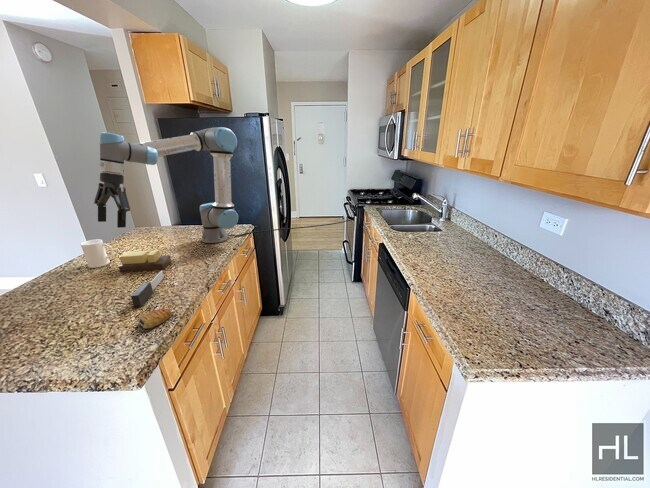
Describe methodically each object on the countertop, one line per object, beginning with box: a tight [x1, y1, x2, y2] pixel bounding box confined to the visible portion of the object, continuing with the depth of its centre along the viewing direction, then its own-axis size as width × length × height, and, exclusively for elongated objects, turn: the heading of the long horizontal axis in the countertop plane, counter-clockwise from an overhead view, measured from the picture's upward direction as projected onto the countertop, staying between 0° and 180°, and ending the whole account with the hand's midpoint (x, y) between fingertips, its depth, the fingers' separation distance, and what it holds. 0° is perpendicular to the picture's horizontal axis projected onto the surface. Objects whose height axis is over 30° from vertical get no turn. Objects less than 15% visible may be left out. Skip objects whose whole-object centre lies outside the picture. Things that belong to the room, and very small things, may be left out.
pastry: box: [138, 308, 173, 330], centre depth 88 cm, size 9×7×4 cm
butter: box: [119, 250, 150, 264], centre depth 126 cm, size 10×6×4 cm, turn 99°
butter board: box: [117, 254, 172, 273], centre depth 128 cm, size 19×10×3 cm, turn 99°
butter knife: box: [130, 270, 165, 308], centre depth 106 cm, size 2×23×5 cm, turn 9°
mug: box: [80, 238, 114, 269], centre depth 128 cm, size 12×8×12 cm
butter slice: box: [147, 249, 161, 263], centre depth 127 cm, size 3×6×4 cm, turn 9°
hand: (111, 224), depth 109 cm, fingers open, 13 cm apart
